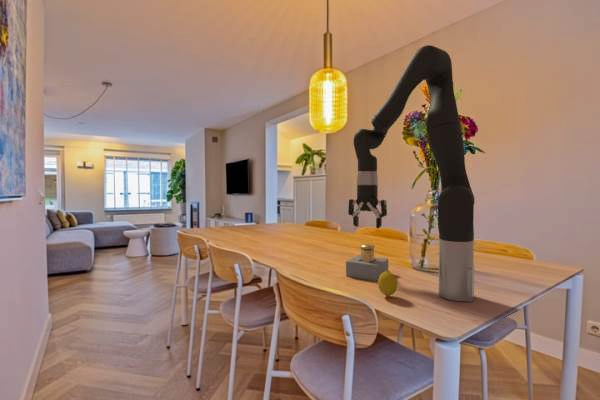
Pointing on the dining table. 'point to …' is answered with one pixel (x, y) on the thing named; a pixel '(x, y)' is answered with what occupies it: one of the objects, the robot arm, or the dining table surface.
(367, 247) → the glass jar
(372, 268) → the block
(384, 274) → the lemon
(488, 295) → the dining table surface
